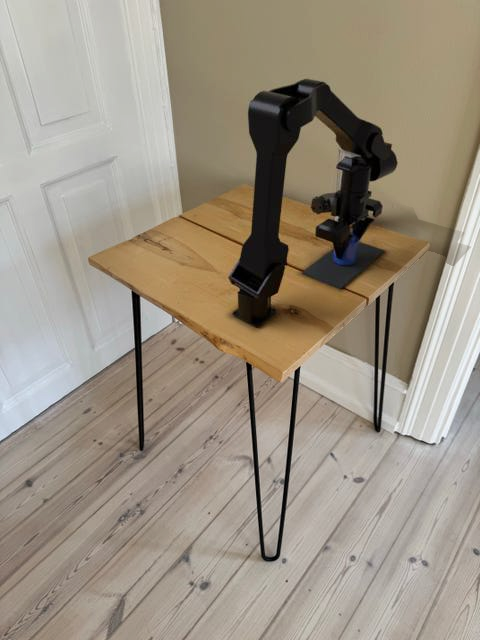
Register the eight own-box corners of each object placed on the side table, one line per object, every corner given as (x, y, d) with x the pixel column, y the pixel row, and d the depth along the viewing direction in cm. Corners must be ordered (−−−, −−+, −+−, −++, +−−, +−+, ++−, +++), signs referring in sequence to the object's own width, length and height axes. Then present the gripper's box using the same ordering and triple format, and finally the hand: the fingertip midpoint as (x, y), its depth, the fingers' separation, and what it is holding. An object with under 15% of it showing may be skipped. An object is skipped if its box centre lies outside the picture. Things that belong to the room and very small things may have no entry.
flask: (348, 267, 103) (353, 235, 98) (328, 260, 106) (332, 228, 101) (360, 258, 106) (365, 226, 101) (340, 251, 109) (344, 220, 104)
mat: (340, 289, 98) (341, 287, 98) (301, 273, 103) (301, 272, 103) (384, 252, 110) (385, 250, 110) (347, 239, 115) (347, 237, 115)
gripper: (343, 165, 105) (336, 228, 115) (296, 192, 94) (292, 258, 104) (389, 177, 99) (377, 241, 109) (344, 206, 88) (335, 275, 98)
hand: (345, 253), depth 105 cm, fingers closed on flask, 5 cm apart
